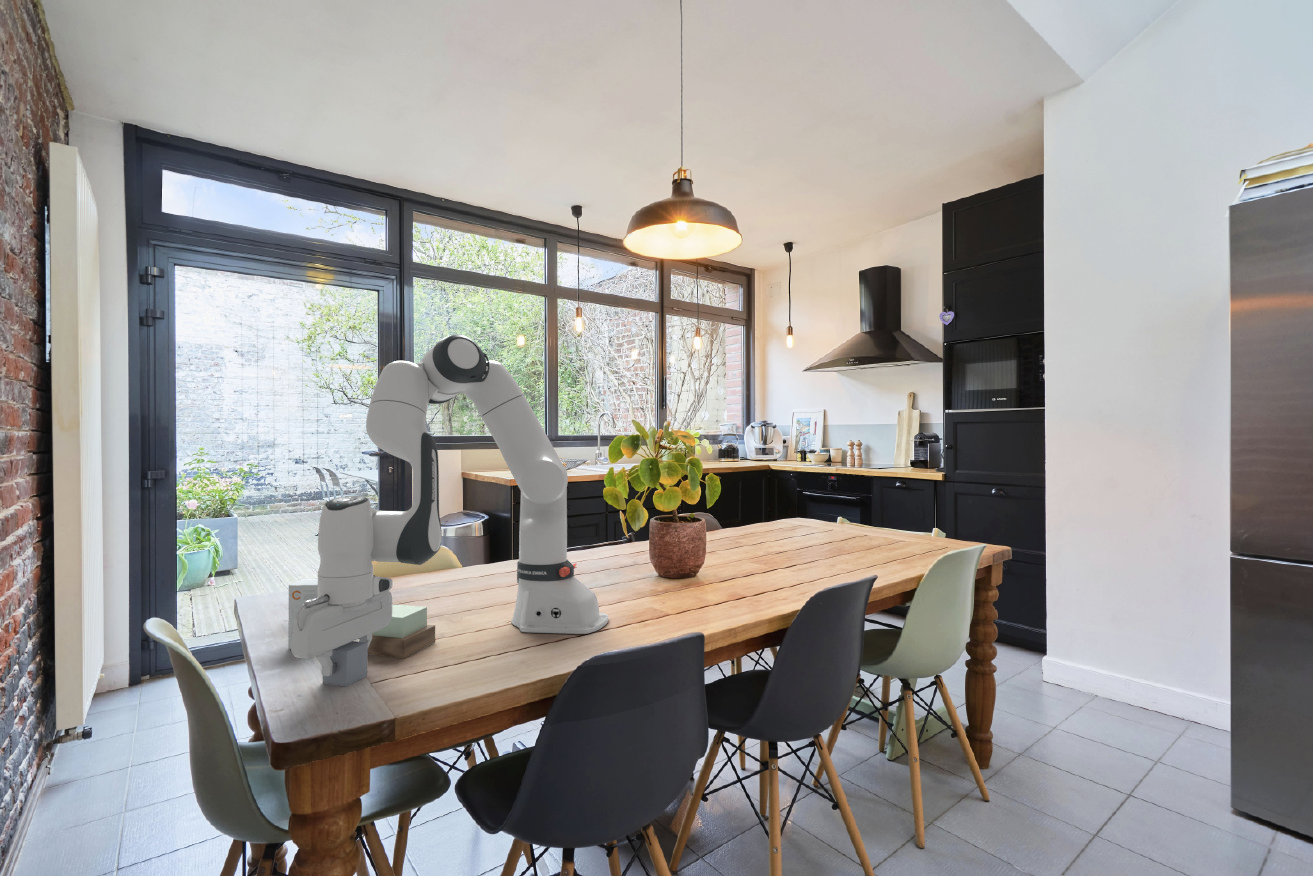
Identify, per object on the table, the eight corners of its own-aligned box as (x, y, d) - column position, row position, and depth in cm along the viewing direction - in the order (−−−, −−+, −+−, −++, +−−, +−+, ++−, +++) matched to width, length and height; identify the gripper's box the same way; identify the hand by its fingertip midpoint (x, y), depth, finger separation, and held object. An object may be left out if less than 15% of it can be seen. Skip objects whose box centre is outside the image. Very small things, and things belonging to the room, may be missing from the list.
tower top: (426, 626, 129) (427, 607, 129) (402, 638, 121) (402, 617, 121) (393, 623, 131) (393, 604, 131) (367, 634, 123) (367, 614, 123)
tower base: (435, 644, 130) (435, 625, 130) (404, 660, 120) (404, 640, 120) (394, 640, 132) (394, 621, 132) (360, 655, 123) (360, 635, 123)
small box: (342, 638, 132) (342, 577, 132) (329, 648, 125) (329, 584, 125) (302, 639, 131) (302, 578, 131) (287, 649, 125) (287, 585, 125)
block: (367, 676, 111) (367, 642, 111) (346, 686, 106) (346, 651, 106) (344, 673, 112) (344, 640, 112) (322, 683, 108) (322, 649, 108)
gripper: (313, 605, 99) (312, 692, 99) (398, 577, 118) (398, 650, 118) (281, 602, 100) (280, 687, 100) (371, 575, 120) (370, 646, 120)
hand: (345, 666), depth 109 cm, fingers open, 6 cm apart
